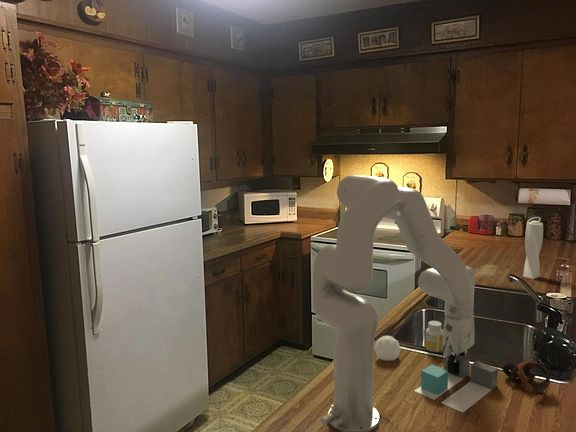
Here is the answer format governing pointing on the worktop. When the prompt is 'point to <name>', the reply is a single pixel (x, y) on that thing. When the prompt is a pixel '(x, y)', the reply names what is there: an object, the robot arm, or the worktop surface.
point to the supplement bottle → (434, 337)
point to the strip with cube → (450, 376)
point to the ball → (387, 348)
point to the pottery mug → (526, 375)
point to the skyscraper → (533, 248)
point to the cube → (434, 379)
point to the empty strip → (474, 387)
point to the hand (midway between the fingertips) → (456, 370)
